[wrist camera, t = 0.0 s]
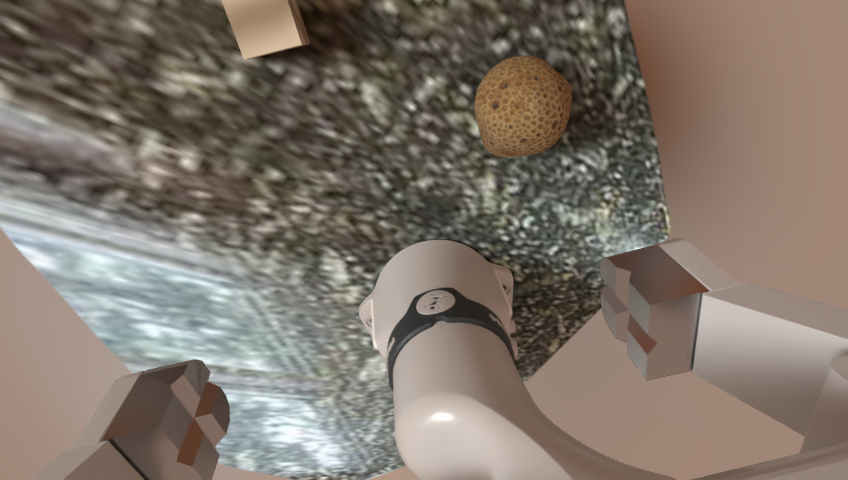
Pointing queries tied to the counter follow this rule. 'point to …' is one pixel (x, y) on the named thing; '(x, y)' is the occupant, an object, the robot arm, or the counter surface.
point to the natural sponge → (522, 107)
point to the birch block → (266, 26)
